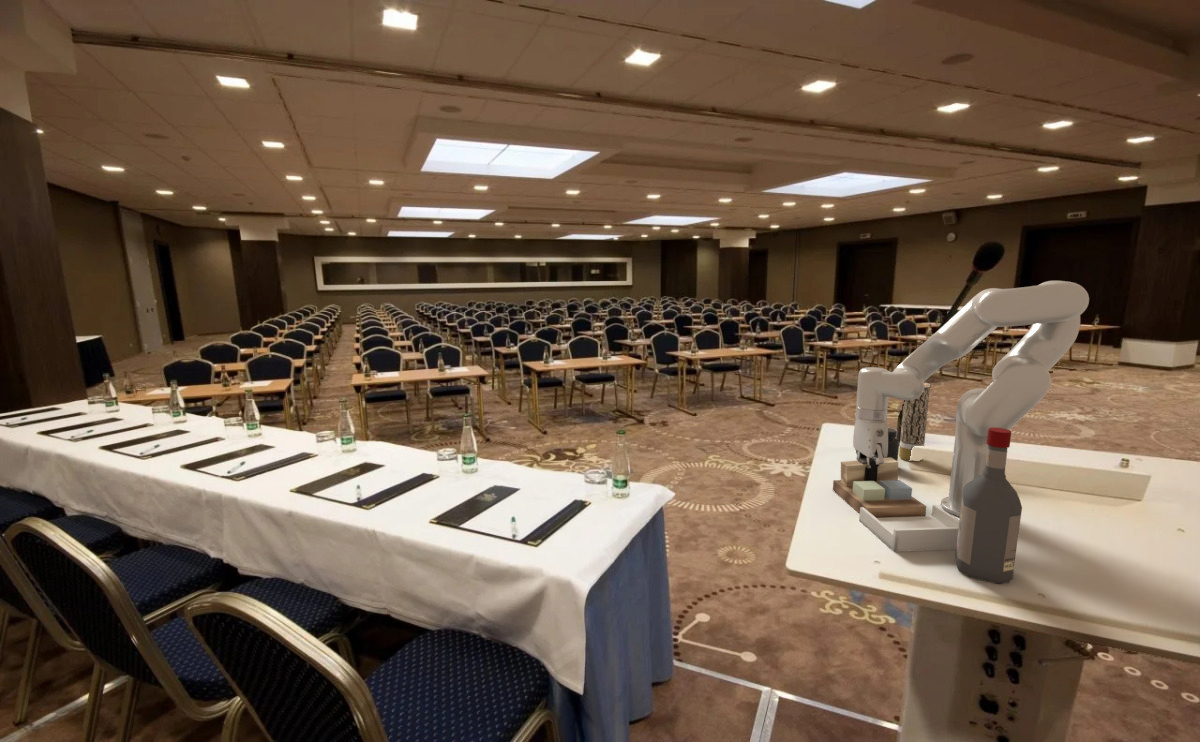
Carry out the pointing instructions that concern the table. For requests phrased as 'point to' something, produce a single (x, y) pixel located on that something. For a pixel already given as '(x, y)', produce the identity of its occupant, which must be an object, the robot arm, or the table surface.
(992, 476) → the liquor
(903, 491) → the tile slate
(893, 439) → the supplement bottle
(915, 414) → the bark textured cylinder
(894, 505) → the wooden serving board
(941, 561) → the table surface
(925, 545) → the tray
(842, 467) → the wooden block
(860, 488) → the tile sage
